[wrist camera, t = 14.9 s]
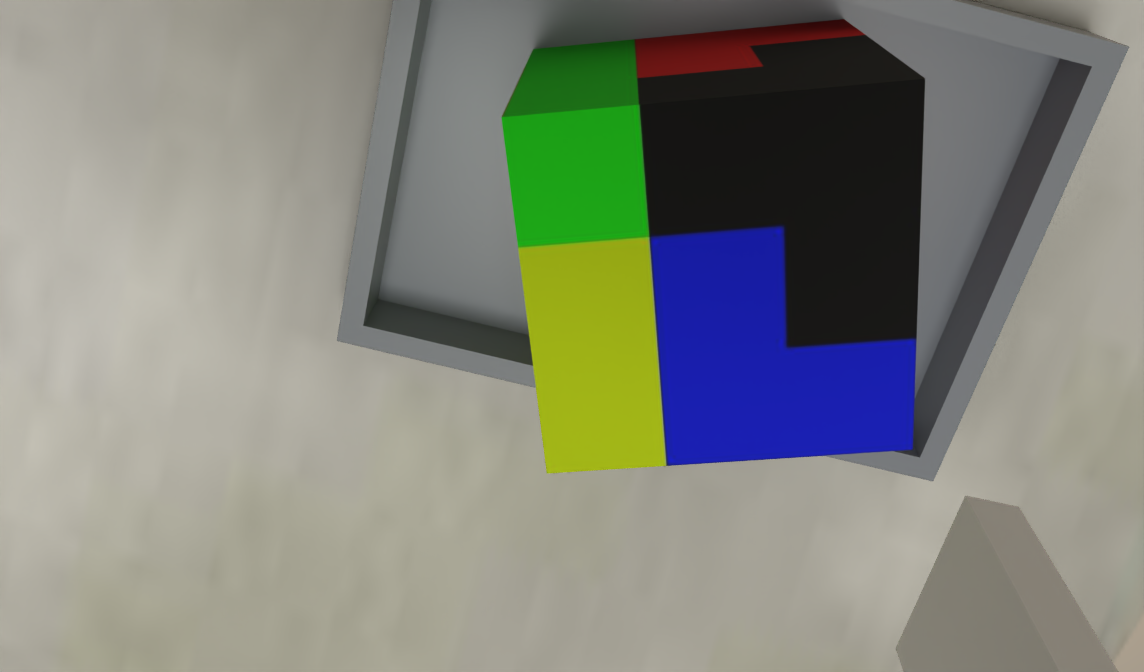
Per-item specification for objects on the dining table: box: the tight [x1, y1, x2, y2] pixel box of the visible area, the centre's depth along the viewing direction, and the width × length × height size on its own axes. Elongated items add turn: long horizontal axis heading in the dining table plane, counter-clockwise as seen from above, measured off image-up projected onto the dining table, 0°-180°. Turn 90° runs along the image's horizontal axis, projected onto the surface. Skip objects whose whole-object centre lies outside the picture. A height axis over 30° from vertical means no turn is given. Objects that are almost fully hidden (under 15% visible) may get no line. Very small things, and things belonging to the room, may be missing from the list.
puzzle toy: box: [501, 19, 925, 473], centre depth 32 cm, size 10×10×10 cm
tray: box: [337, 0, 1129, 481], centre depth 36 cm, size 16×22×3 cm
